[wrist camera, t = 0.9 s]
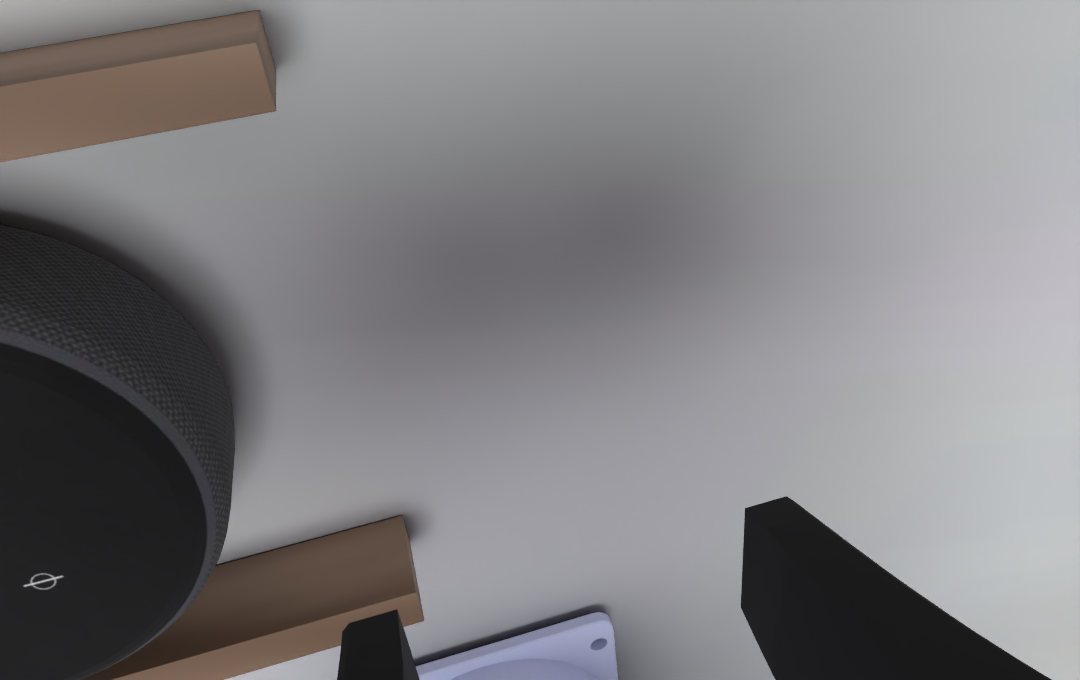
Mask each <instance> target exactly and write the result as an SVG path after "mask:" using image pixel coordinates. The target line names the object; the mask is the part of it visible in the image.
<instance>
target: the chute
mask: <svg viewBox="0 0 1080 680" xmlns="http://www.w3.org/2000/svg"><path fill="white" fill-rule="evenodd" d="M273 111H276V68H275V65H274V61H273V58H272V54H271V51H270V47H269V44H268V40H267V37H266V33H265V30H264V26H263V23H262V19H261V16H260V12H259V10H257V11H251V12H245V13H239V14H233V15H227V16H221V17H215V18H209V19H203V20H197V21H191V22H185V23H179V24H173V25H167V26H160V27H154V28H148V29H142V30H136V31H130V32H124V33H118V34H112V35H106V36H100V37H94V38H88V39H82V40H76V41H70V42H64V43H58V44H52V45H46V46H40V47H34V48H28V49H22V50H16V51H10V52H4V53H0V162H5V161H10V160H16V159H21V158H26V157H32V156H37V155H42V154H48V153H53V152H59V151H64V150H69V149H75V148H80V147H85V146H91V145H96V144H101V143H107V142H112V141H118V140H123V139H128V138H134V137H139V136H144V135H150V134H155V133H161V132H166V131H171V130H177V129H182V128H187V127H193V126H198V125H204V124H209V123H214V122H220V121H225V120H230V119H236V118H241V117H247V116H252V115H257V114H263V113H268V112H273ZM396 609H398V613H399V616H400V619H401V622H402V625H403V627H405V626H408V625H411V624H415V623H418V622H422V621H424V616H423V611H422V605H421V600H420V595H419V589H418V584H417V578H416V573H415V568H414V562H413V557H412V552H411V546H410V542H409V538H408V535H407V531H406V527H405V524H404V520H403V517H402V516H398V517H395V518H391V519H387V520H384V521H380V522H376V523H373V524H369V525H365V526H362V527H358V528H354V529H350V530H347V531H343V532H339V533H336V534H332V535H328V536H325V537H321V538H317V539H314V540H310V541H306V542H303V543H299V544H295V545H292V546H288V547H284V548H280V549H277V550H273V551H269V552H266V553H262V554H258V555H255V556H251V557H247V558H244V559H240V560H236V561H233V562H229V563H225V564H221V565H218V566H215V568H214V570H213V572H212V574H211V576H210V577H209V579H208V581H207V582H206V584H205V586H204V587H203V589H202V590H201V592H200V593H199V595H198V596H197V597H196V598H195V600H194V601H193V602H192V604H191V605H190V606H189V607H188V609H187V610H186V611H185V612H184V613H183V614H182V615H181V616H180V617H179V618H178V619H177V620H176V621H175V622H174V623H173V624H172V625H171V626H169V627H168V628H167V629H166V630H165V631H164V632H162V633H161V634H160V635H159V636H157V637H156V638H155V639H153V640H152V641H151V642H149V643H148V644H147V645H145V646H144V647H142V648H141V649H140V650H138V651H136V652H135V653H133V654H131V655H130V656H128V657H127V658H125V659H123V660H121V661H120V662H118V663H116V664H114V665H112V666H110V667H108V668H106V669H104V670H102V671H99V672H97V673H95V674H92V675H90V676H88V677H85V678H83V679H80V680H224V679H227V678H231V677H234V676H238V675H241V674H245V673H248V672H251V671H255V670H258V669H262V668H265V667H268V666H272V665H275V664H279V663H282V662H285V661H289V660H292V659H296V658H299V657H302V656H306V655H309V654H313V653H316V652H319V651H323V650H326V649H330V648H333V647H336V646H340V645H341V642H342V631H343V630H344V629H345V628H346V626H347V625H348V624H349V623H351V622H355V621H358V620H361V619H365V618H368V617H372V616H375V615H379V614H382V613H386V612H389V611H393V610H396Z"/></svg>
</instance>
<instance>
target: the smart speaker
mask: <svg viewBox="0 0 1080 680" xmlns="http://www.w3.org/2000/svg"><path fill="white" fill-rule="evenodd" d="M234 450H235V439H234V420H233V413H232V406H231V401H230V397H229V393H228V390H227V386H226V383H225V381H224V379H223V376H222V374H221V371H220V369H219V367H218V365H217V363H216V361H215V360H214V358H213V356H212V354H211V352H210V351H209V349H208V348H207V346H206V345H205V343H204V342H203V341H202V339H201V338H200V336H199V335H198V334H197V332H196V331H195V330H194V329H193V328H192V327H191V326H190V324H189V323H188V322H187V321H186V320H185V319H184V317H183V316H181V315H180V314H179V313H178V312H177V311H176V310H175V309H174V308H173V307H172V306H171V305H170V304H169V303H168V302H167V301H166V300H165V299H163V298H162V297H161V296H160V295H158V294H157V293H156V292H155V291H153V290H152V289H151V288H150V287H148V286H147V285H146V284H144V283H143V282H141V281H140V280H138V279H137V278H135V277H134V276H132V275H131V274H129V273H128V272H126V271H124V270H123V269H121V268H119V267H117V266H115V265H114V264H112V263H110V262H108V261H106V260H105V259H103V258H101V257H98V256H96V255H94V254H92V253H90V252H87V251H85V250H83V249H81V248H78V247H76V246H73V245H70V244H68V243H65V242H62V241H59V240H57V239H54V238H51V237H47V236H44V235H40V234H37V233H33V232H29V231H26V230H21V229H16V228H12V227H7V226H2V225H0V680H80V679H83V678H85V677H88V676H90V675H92V674H95V673H97V672H99V671H102V670H104V669H106V668H108V667H110V666H112V665H114V664H116V663H118V662H120V661H121V660H123V659H125V658H127V657H128V656H130V655H131V654H133V653H135V652H136V651H138V650H140V649H141V648H142V647H144V646H145V645H147V644H148V643H149V642H151V641H152V640H153V639H155V638H156V637H157V636H159V635H160V634H161V633H162V632H164V631H165V630H166V629H167V628H168V627H169V626H171V625H172V624H173V623H174V622H175V621H176V620H177V619H178V618H179V617H180V616H181V615H182V614H183V613H184V612H185V611H186V610H187V609H188V607H189V606H190V605H191V604H192V602H193V601H194V600H195V598H196V597H197V596H198V595H199V593H200V592H201V590H202V589H203V587H204V586H205V584H206V582H207V581H208V579H209V577H210V576H211V574H212V572H213V570H214V568H215V566H216V564H217V561H218V559H219V557H220V555H221V551H222V548H223V544H224V541H225V538H226V533H227V528H228V521H229V515H230V507H231V494H232V479H233V465H234Z"/></svg>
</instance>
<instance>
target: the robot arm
mask: <svg viewBox="0 0 1080 680" xmlns="http://www.w3.org/2000/svg"><path fill="white" fill-rule="evenodd" d="M741 608H742V610H743V613H744V615H745V617H746V619H747V621H748V623H749V626H750V628H751V630H752V632H753V634H754V636H755V639H756V641H757V643H758V645H759V647H760V649H761V651H762V653H763V655H764V657H765V659H766V661H767V663H768V665H769V667H770V669H771V671H772V674H773V676H774V678H775V679H776V680H1051V679H1050V678H1048V677H1046V676H1044V675H1043V674H1041V673H1040V672H1038V671H1036V670H1035V669H1033V668H1031V667H1030V666H1028V665H1026V664H1025V663H1023V662H1021V661H1020V660H1018V659H1017V658H1015V657H1014V656H1012V655H1010V654H1009V653H1007V652H1006V651H1004V650H1002V649H1001V648H999V647H998V646H996V645H995V644H993V643H991V642H990V641H988V640H987V639H985V638H984V637H982V636H980V635H979V634H977V633H976V632H974V631H973V630H971V629H970V628H968V627H967V626H965V625H964V624H962V623H961V622H959V621H958V620H956V619H955V618H953V617H952V616H950V615H949V614H947V613H946V612H945V611H943V610H942V609H940V608H939V607H937V606H936V605H934V604H933V603H932V602H930V601H929V600H927V599H926V598H924V597H923V596H922V595H920V594H919V593H917V592H916V591H914V590H913V589H912V588H910V587H909V586H907V585H906V584H904V583H903V582H901V581H900V580H899V579H897V578H896V577H895V576H893V575H892V574H890V573H889V572H888V571H886V570H885V569H883V568H882V567H881V566H879V565H878V564H877V563H875V562H874V561H873V560H871V559H870V558H869V557H867V556H866V555H865V554H863V553H862V552H860V551H859V550H858V549H856V548H855V547H854V546H852V545H851V544H850V543H848V542H847V541H846V540H844V539H843V538H842V537H840V536H839V535H838V534H836V533H835V532H834V531H833V530H831V529H830V528H829V527H827V526H826V525H825V524H823V523H822V522H821V521H819V520H818V519H817V518H815V517H814V516H813V515H812V514H810V513H809V512H808V511H806V510H805V509H804V508H802V507H801V506H800V505H798V504H797V503H796V502H794V501H793V500H791V499H790V498H788V497H787V496H786V497H783V498H779V499H776V500H772V501H769V502H765V503H762V504H759V505H755V506H752V507H748V508H745V524H744V547H743V571H742V594H741ZM337 680H618V673H617V662H616V651H615V640H614V629H613V625H612V623H611V621H610V618H609V616H608V615H607V614H605V613H600V612H596V613H591V614H588V615H584V616H581V617H578V618H575V619H571V620H568V621H565V622H561V623H558V624H555V625H551V626H548V627H545V628H541V629H538V630H535V631H531V632H528V633H525V634H522V635H518V636H515V637H512V638H508V639H505V640H502V641H498V642H495V643H492V644H488V645H485V646H482V647H479V648H475V649H472V650H469V651H465V652H462V653H459V654H455V655H452V656H449V657H445V658H442V659H439V660H436V661H432V662H429V663H426V664H422V665H419V666H415V663H414V660H413V657H412V654H411V651H410V647H409V644H408V641H407V638H406V635H405V632H404V628H403V625H402V622H401V619H400V616H399V613H398V609H396V610H393V611H389V612H386V613H382V614H379V615H375V616H372V617H368V618H365V619H361V620H358V621H355V622H351V623H349V624H348V625H347V626H346V628H345V629H344V630H343V631H342V642H341V654H340V662H339V670H338V677H337Z"/></svg>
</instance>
